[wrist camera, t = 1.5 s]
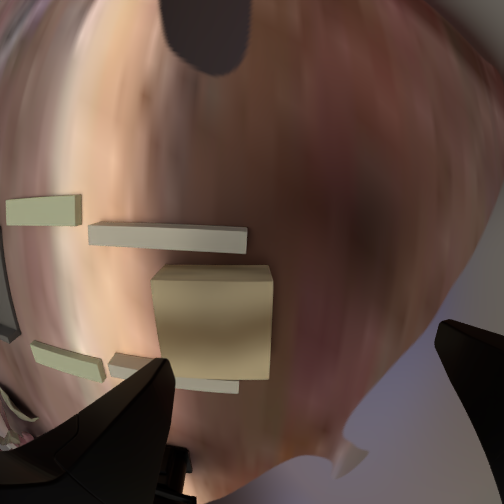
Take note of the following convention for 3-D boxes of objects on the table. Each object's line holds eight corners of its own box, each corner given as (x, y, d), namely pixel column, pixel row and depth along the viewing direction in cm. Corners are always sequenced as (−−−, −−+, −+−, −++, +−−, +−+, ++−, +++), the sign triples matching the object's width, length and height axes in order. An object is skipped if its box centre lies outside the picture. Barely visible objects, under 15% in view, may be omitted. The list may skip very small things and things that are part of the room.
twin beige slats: (238, 379, 23) (238, 393, 21) (118, 364, 23) (110, 376, 21) (247, 227, 20) (247, 231, 18) (100, 221, 20) (87, 225, 18)
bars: (106, 377, 23) (102, 383, 22) (40, 357, 23) (35, 362, 22) (81, 194, 19) (74, 195, 18) (12, 199, 19) (5, 200, 18)
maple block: (265, 351, 23) (268, 379, 19) (175, 349, 23) (165, 376, 19) (268, 264, 21) (273, 281, 17) (166, 263, 21) (150, 280, 17)
